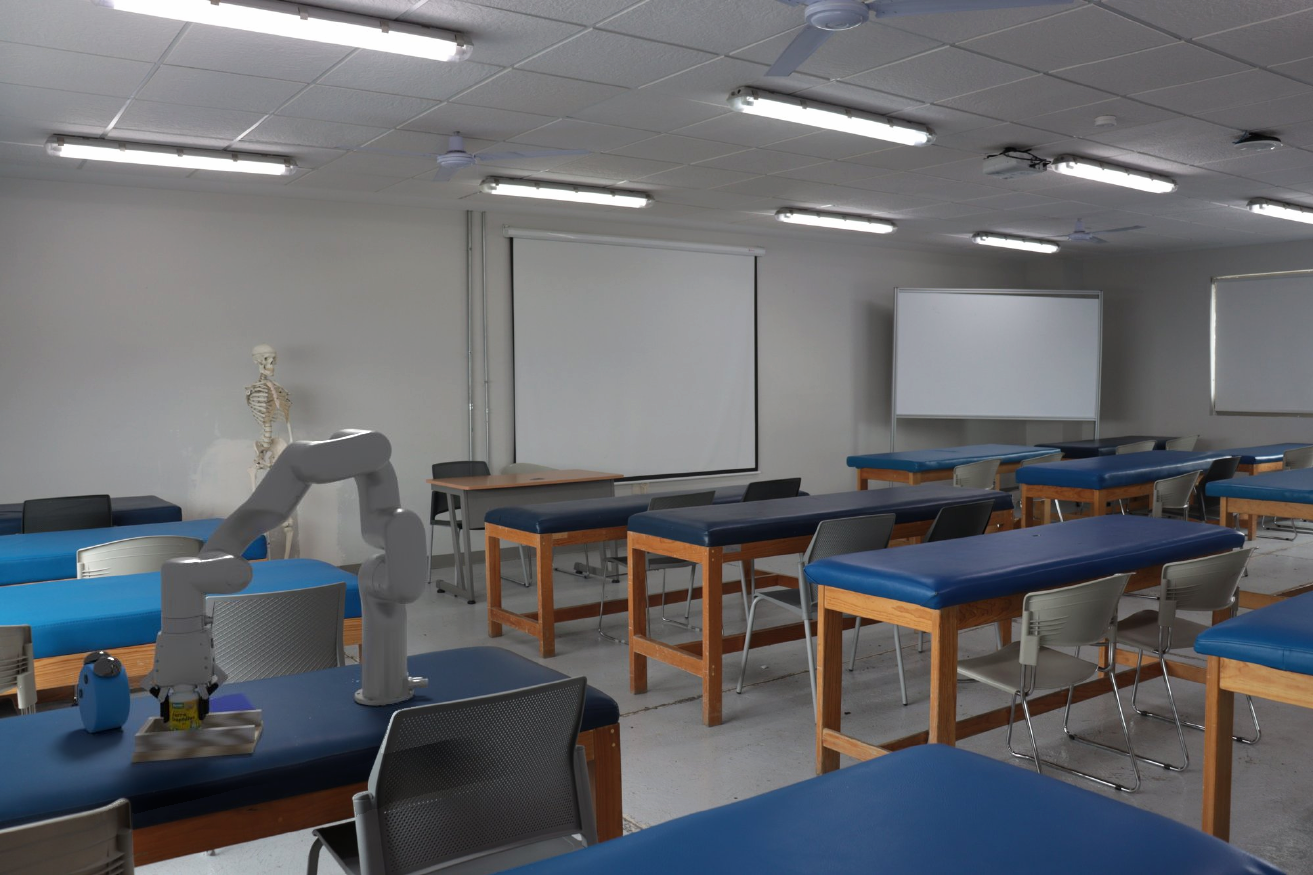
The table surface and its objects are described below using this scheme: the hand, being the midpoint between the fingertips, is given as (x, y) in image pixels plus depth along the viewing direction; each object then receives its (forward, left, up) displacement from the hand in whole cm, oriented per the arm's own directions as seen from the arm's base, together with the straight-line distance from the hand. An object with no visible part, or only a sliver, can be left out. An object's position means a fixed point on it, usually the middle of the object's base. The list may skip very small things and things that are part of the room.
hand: (185, 718), depth 176 cm
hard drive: (-4, -21, -6) cm, 23 cm away
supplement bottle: (0, 0, -3) cm, 3 cm away
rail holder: (-3, 0, -5) cm, 6 cm away
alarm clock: (+17, -13, -5) cm, 22 cm away
